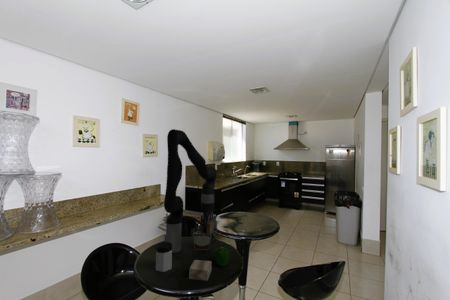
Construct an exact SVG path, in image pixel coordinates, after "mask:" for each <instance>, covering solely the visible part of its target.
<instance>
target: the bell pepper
mask: <svg viewBox="0 0 450 300" xmlns="http://www.w3.org/2000/svg"><path fill="white" fill-rule="evenodd" d="M230 253H231V251H230V249H228V248H227V247H225V246H224V247H223V246H221V247H216V248H215V250H214V260H215V264H217V265H218V266H220V267H226V266H227V264H228V263H229V261H230V257H231V256H230V255H231V254H230Z"/></svg>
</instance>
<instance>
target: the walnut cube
mask: <svg viewBox="0 0 450 300" xmlns="http://www.w3.org/2000/svg"><path fill="white" fill-rule="evenodd" d="M199 225H200V226H199V227H200V228H199V231H200V233H202V234H209V235H210V234H211V235H212V233H214V231H215V230H214V229H215V220H209V222H208V223H207V232H206V233H203V226H201V222H200V224H199Z"/></svg>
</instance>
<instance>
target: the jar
mask: <svg viewBox="0 0 450 300" xmlns="http://www.w3.org/2000/svg"><path fill="white" fill-rule="evenodd" d="M172 260H173V253H172V243H170V242H165V241H162V242H158V243H157V244H156V248H155V271H157V272H161V273H164V272H167V271H170V270H172V266H173V265H172V264H173V262H172Z"/></svg>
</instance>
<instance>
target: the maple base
mask: <svg viewBox="0 0 450 300" xmlns="http://www.w3.org/2000/svg"><path fill="white" fill-rule="evenodd" d="M212 266H213V265H212V261H211V260H200V259H194V260H193V261H192V263H191V265H190V268H189V269H188V271H189V273H188V279H189V280H197V281H205V282H208V280H209V278H210V275H211V273H212V271H213V270H212Z"/></svg>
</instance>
